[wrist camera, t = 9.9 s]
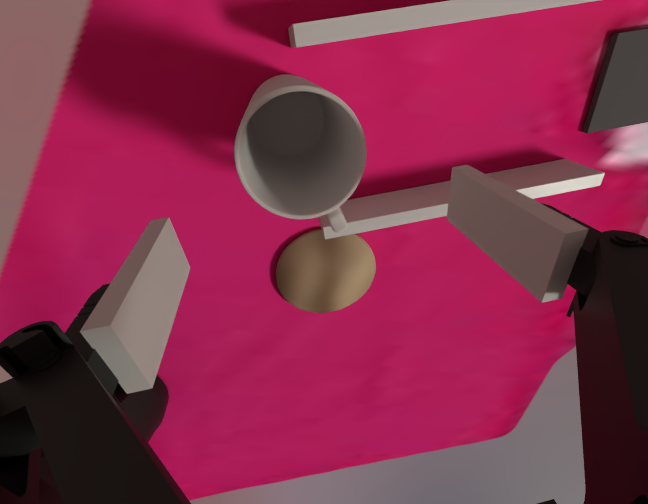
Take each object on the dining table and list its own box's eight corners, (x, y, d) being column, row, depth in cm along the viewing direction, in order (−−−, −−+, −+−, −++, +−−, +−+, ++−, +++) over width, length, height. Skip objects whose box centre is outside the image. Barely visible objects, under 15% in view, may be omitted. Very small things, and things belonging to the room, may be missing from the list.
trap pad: (582, 131, 31) (587, 133, 31) (612, 33, 27) (618, 33, 26) (656, 118, 32) (662, 119, 31) (697, 19, 27) (706, 19, 27)
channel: (317, 217, 32) (325, 239, 28) (287, 28, 23) (292, 23, 19) (562, 170, 33) (600, 185, 29) (617, -22, 25) (681, -35, 21)
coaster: (286, 317, 38) (286, 320, 37) (265, 238, 32) (265, 241, 31) (376, 298, 39) (377, 301, 38) (372, 218, 33) (373, 220, 32)
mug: (228, 97, 25) (204, 130, 15) (304, 52, 24) (333, 55, 14) (291, 201, 30) (305, 277, 20) (355, 167, 29) (401, 229, 19)
